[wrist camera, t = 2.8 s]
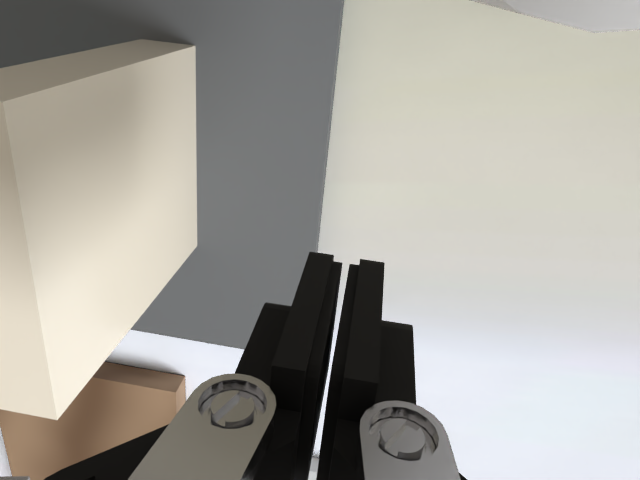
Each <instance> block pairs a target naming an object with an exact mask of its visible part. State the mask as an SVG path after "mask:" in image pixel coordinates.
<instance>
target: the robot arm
mask: <svg viewBox="0 0 640 480" xmlns="http://www.w3.org/2000/svg"><path fill="white" fill-rule="evenodd" d="M333 259H334V255H329V254H323V253H316V252H309V255H308V258H307V261H306V264H305V267H304V270H303V273H302V276H301V279H300V282H299V285H298V288H297V291H296V294H295V297H294V300H293V303H292V306H287V305H281V304H274V303H268V302H266V303H265V304H264V306H263V308H262V310H261V312H260V315H259V317H258V319H257V322H256V324H255V327H254V329H253V331H252V334H251V336H250V338H249V341H248V343H247V346H246V348H245V350H244V353H243V355H242V357H241V360H240V362H239V364H238V367H237V369H236V372H235V374H224V375H220V376H216V377H212V378H211V379H209V380H207V381H205V382H203V383H201V384H200V385H199V386H198V387H197V388H196V389H195V390H194V391H193V393H192V394H191V395H190V397H189V398H188V399H187V401H186V402H185V403H184V405H183V406H182V407H181V409H180V410H179V411H178V413H177V414H176V415H175V417H174V418H173V419H172V421H171V422H170V423H169V424H168V425H166V426H163V427H161V428H158V429H156V430H154V431H151V432H149V433H147V434H144V435H142V436H139V437H137V438H135V439H132V440H130V441H128V442H125V443H123V444H120V445H118V446H116V447H113V448H111V449H109V450H106V451H104V452H101V453H99V454H97V455H94V456H92V457H90V458H87V459H85V460H82V461H80V462H78V463H75V464H73V465H71V466H68V467H66V468H63V469H61V470H59V471H57V472H56V473H54V474H52V475H50V476H48V477H46V478H45V479H44V480H308V477H309V471H310V466H311V460H312V455H313V450H314V444H315V439H316V433H317V428H318V422H319V417H320V411H321V406H322V400H323V395H324V389H325V384H326V378H327V373H328V367H329V360H330V352H331V345H332V337H333V330H334V322H335V315H336V307H337V299H338V292H339V284H340V277H341V269H342V263H340V262H333ZM383 281H384V263H383V262H376V261H370V260H363V259H360V264H359V265H353V264H350V266H349V271H348V277H347V283H346V289H345V294H344V300H343V306H342V312H341V317H340V323H339V329H338V335H337V340H336V346H335V352H334V357H333V363H332V369H331V376H330V382H329V389H328V396H327V404H326V411H325V419H324V426H323V433H322V441H321V448H320V456H319V463H318V470H317V478H316V480H467V479H466V478H465V477H463V476H462V475H461V474H460V473H459V472H458V469H457V465H456V462H455V459H454V455H453V452H452V449H451V445H450V442H449V439H448V435H447V433H446V431H445V429H444V427H443V425H442V424H441V423H440V421H439V420H438V419H437V418H436V417H435V416H434V415H433V414H431V413H430V412H428V411H427V410H425V409H424V408H422V407H420V406H417V405H416V390H415V367H414V343H413V327H412V325H408V324H402V323H395V322H389V321H383V320H382V301H383ZM0 480H30V477H29V476H11V477H0Z"/></svg>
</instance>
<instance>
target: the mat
mask: <svg viewBox="0 0 640 480" xmlns="http://www.w3.org/2000/svg"><path fill="white" fill-rule="evenodd" d="M343 6H344V0H0V68H4V67H9V66H14V65H19V64H24V63H28V62H33V61H38V60H43V59H48V58H53V57H57V56H62V55H67V54H72V53H77V52H81V51H86V50H91V49H96V48H101V47H106V46H110V45H115V44H120V43H125V42H130V41H135V40H139V39H145V40H153V41H161V42H170V43H178V44H186V45H194V46H195V48H196V159H197V247H196V248H195V249H194V251H193V252H192V253H191V254H190V255H189V257H188V258H187V259H186V260H185V262H184V263H183V264H182V265H181V267H180V268H179V269H178V270H177V272H176V273H175V274H174V275H173V277H172V278H171V279H170V280H169V282H168V283H167V284H166V285H165V287H164V288H163V289H162V290H161V292H160V293H159V294H158V295H157V297H156V298H155V299H154V300H153V302H152V303H151V304H150V305H149V307H148V308H147V309H146V310H145V312H144V313H143V314H142V315H141V317H140V318H139V319H138V320H137V322H136V323H135V324H134V325H133V327H132V328H131V330H137V331H142V332H148V333H154V334H159V335H165V336H171V337H177V338H182V339H188V340H194V341H200V342H205V343H211V344H217V345H223V346H228V347H234V348H240V349H245V348H246V346H247V343H248V341H249V338H250V336H251V334H252V331H253V329H254V327H255V324H256V322H257V319H258V317H259V315H260V312H261V310H262V308H263V306H264V304H265V303H266V302H268V303H274V304H281V305H287V306H292V303H293V300H294V297H295V294H296V291H297V288H298V285H299V282H300V279H301V276H302V273H303V270H304V267H305V264H306V261H307V258H308V255H309V252H316V253H317V250H318V241H319V231H320V222H321V213H322V203H323V194H324V184H325V175H326V166H327V156H328V147H329V137H330V128H331V119H332V109H333V100H334V90H335V81H336V72H337V62H338V53H339V43H340V34H341V25H342V15H343Z"/></svg>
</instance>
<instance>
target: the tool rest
mask: <svg viewBox="0 0 640 480" xmlns="http://www.w3.org/2000/svg"><path fill="white" fill-rule="evenodd" d="M185 402H186V396H185V376H181V375H176V374H170V373H165V372H159V371H153V370H148V369H142V368H137V367H131V366H126V365H120V364H115V363H109V362H104V363H103V364H102V365H101V366H100V368H99V369H98V370H97V371H96V373H95V374H94V375H93V376H92V378H91V379H90V380H89V381H88V383H87V384H86V385H85V386H84V388H83V389H82V390H81V391H80V393H79V394H78V395H77V396H76V398H75V399H74V400H73V401H72V403H71V404H70V405H69V406H68V408H67V409H66V410H65V411H64V413H63V414H62V415H61V416H60V418H59V419H58V420H54V419H49V418H43V417H38V416H33V415H28V414H23V413H17V412H12V411H7V410H2V409H0V427H1V431H2V435H3V439H4V443H5V448H6V452H7V456H8V460H9V464H10V469H11V473H12V476H29V477H30V480H44V479H45V478H46V477H48V476H50V475H52V474H54V473H56V472H57V471H59V470H61V469H63V468H66V467H68V466H71V465H73V464H75V463H78V462H80V461H82V460H85V459H87V458H90V457H92V456H94V455H97V454H99V453H101V452H104V451H106V450H109V449H111V448H113V447H116V446H118V445H120V444H123V443H125V442H128V441H130V440H132V439H135V438H137V437H139V436H142V435H144V434H147V433H149V432H151V431H154V430H156V429H158V428H161V427H163V426H166V425H168V424H169V423H170V422H171V421H172V419H173V418H174V417H175V415H176V414H177V413H178V411H179V410H180V409H181V407H182V406H183V405H184V403H185Z"/></svg>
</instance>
